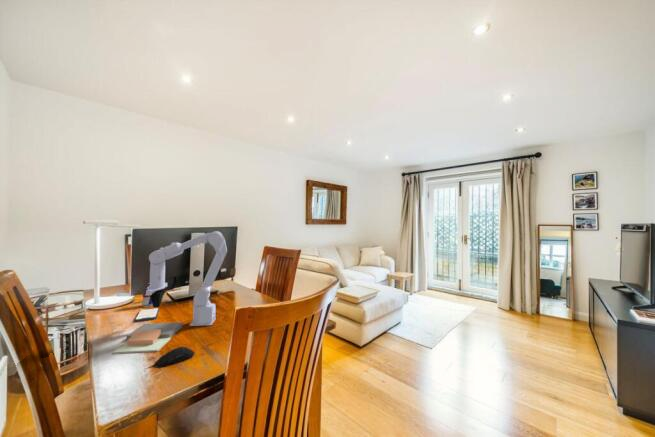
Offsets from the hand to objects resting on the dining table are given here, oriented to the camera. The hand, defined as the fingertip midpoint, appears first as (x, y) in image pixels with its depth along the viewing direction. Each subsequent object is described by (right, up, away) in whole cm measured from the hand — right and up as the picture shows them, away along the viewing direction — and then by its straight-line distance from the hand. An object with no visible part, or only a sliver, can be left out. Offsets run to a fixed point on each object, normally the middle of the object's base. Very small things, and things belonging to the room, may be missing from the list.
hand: (156, 306), depth 113 cm
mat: (+6, -9, -16) cm, 20 cm away
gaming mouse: (+23, -10, -26) cm, 36 cm away
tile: (+5, -8, -14) cm, 17 cm away
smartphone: (-14, -10, +14) cm, 23 cm away
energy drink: (-24, -10, +29) cm, 39 cm away
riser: (+4, -9, -6) cm, 12 cm away
